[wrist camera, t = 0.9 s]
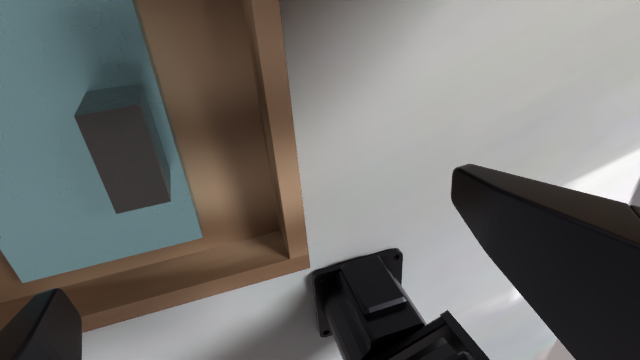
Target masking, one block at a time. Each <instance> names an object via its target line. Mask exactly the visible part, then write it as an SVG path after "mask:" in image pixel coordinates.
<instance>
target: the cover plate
mask: <svg viewBox="0 0 640 360" xmlns="http://www.w3.org/2000/svg"><path fill="white" fill-rule="evenodd" d="M200 238H203V236H202V227H201V220H200V216H199V213H198V209H197V206H196V203H195V199H194V196H193V192H192V189H191V185H190V182H189V179H188V175H187V172H186V168H185V165H184V162H183V158H182V155H181V151H180V148H179V144H178V141H177V138H176V134H175V131H174V127H173V124H172V121H171V117H170V114H169V110H168V107H167V104H166V100H165V97H164V93H163V90H162V86H161V83H160V80H159V76H158V73H157V69H156V66H155V63H154V59H153V56H152V52H151V49H150V45H149V42H148V39H147V35H146V32H145V28H144V25H143V22H142V18H141V15H140V11H139V8H138V4H137V1H136V0H0V250H1V251H2V253H3V254H4V256H5V257H6V259H7V260H8V262H9V263H10V265H11V266H12V268H13V269H14V271H15V272H16V274H17V275H18V277H19V279H20V280H21V282H22V283H26V282H30V281H33V280H37V279H41V278H45V277H49V276H53V275H57V274H61V273H65V272H69V271H73V270H77V269H81V268H85V267H89V266H93V265H97V264H101V263H105V262H109V261H113V260H117V259H121V258H125V257H129V256H133V255H136V254H140V253H144V252H148V251H152V250H156V249H160V248H164V247H168V246H172V245H176V244H180V243H184V242H188V241H192V240H196V239H200Z"/></svg>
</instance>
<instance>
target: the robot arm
mask: <svg viewBox="0 0 640 360" xmlns="http://www.w3.org/2000/svg"><path fill="white" fill-rule="evenodd" d="M451 199H452V202H453V204H454V206H455V207H456V209H457V210H458V212H459V213H460V215H461V216H462V218H463V219H464V221H465V222H466V224H467V225H468V227H469V228H470V230H471V231H472V233H473V234H474V236H475V237H476V239H477V240H478V242H479V243H480V245H481V246H482V248H483V249H484V250H485V252H486V253H487V254H488V255H489V257H490V258H491V259H492V260H493V262H494V263H495V264H496V265H497V266H498V268H499V269H500V270H501V271H502V272H503V274H504V275H505V276H506V277H507V278H508V280H509V281H510V282H511V283H512V284H513V285H514V287H515V288H516V289H517V290H518V291H519V293H520V294H521V295H522V296H523V297H524V299H525V300H526V301H527V302H528V303H529V305H530V306H531V307H532V308H533V309H534V311H535V312H536V313H537V314H538V315H539V316H540V318H541V319H542V320H543V321H544V322H545V324H546V325H547V326H548V327H549V328H550V330H551V331H552V332H553V333H554V334H555V336H556V337H557V338H558V339H559V340H560V341H561V343H562V344H563V345H564V346H565V347H566V349H567V350H568V351H569V352H570V353H571V355H572V356H573V357H574V358H575V359H576V360H640V207H638V206H635V205H630V206H629V205H628V204H626V203H622V202H619V201H615V200H611V199H607V198H603V197H599V196H595V195H591V194H587V193H583V192H579V191H575V190H571V189H567V188H564V187H560V186H556V185H552V184H548V183H544V182H540V181H536V180H532V179H528V178H524V177H520V176H517V175H513V174H509V173H505V172H501V171H497V170H493V169H489V168H485V167H481V166H477V165H473V164H466V165H463V166H460V167H457V168H455V169H454V170H453V174H452V187H451ZM395 255H396V256H395ZM402 261H403V254H402V253H401V251H400V250H399V249H397V248H394V249H391V250H387V251H384V252H380V253H377V254H373V255H370V256H366V257H363V258H359V259H356V260H352V261H349V262H345V263H342V264H339V265H335V266H332V267H328V268H325V269H321V270H318V271H316V272H315V273H314V274H313V275H312V281H313V289H314V298H315V307H316V315H317V324H318V331H319V334H320V336H321V337H328V336H331V335H333V336H334V339H335V341H336V344H337V346H338V349H339V351H340V353H341V356H342V358H343V360H490V359H489V358H488V357H487V356H486V355H485V353H484V352H483V351H482V350H481V349H480V347H479V346H478V345H477V344H476V343H475V342H474V340H473V339H472V338H471V337H470V336H469V335H468V333H467V332H466V331H465V330H464V329H463V328H462V326H461V325H460V324H459V323H458V322H457V321H456V319H455V318H454V317H453V316H452V315H451V314H450V312H449V311H448V310H447V311H445V312H444V313H442V314H440V317H439V318H437V319H435V320H434V321H432V322H430V323H429V324H426V322H425V321H424V319H423V318H422V316H421V315H420V313H419V312H418V310H417V309H416V307H415V306H414V304H413V303H412V301H411V300H410V298H409V297H408V295H407V294H406V292H405V291H404V289H403V288H402V286H401V281H402ZM320 277H321V278H320ZM0 360H82V320H81V316H80V314H79V312H78V310H77V309H76V308H75V306H74V305H73V303H72V302H71V300H70V299H69V298H68V296H67V295H66V293H65V292H64V291H63V290H62V289H61V288H53V289H50V290H47V291H43V292H40V293H38V294H36V295H35V296H34V297H33V298H32V299H31V300H30V301H29V302H28V303H27V304H26V305H25V306H24V307H23V308H22V309H21V310H20V311H19V312H18V313H17V314H16V315H15V316H14V317H13V318H12V319H11V320H10V321H9V322H8V323H7V324H6V325H5V326H4V327H3V328H2V329H1V330H0Z"/></svg>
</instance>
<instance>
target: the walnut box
mask: <svg viewBox="0 0 640 360" xmlns="http://www.w3.org/2000/svg"><path fill="white" fill-rule="evenodd" d="M136 1H137V4H138V8H139V11H140V15H141V18H142V22H143V25H144V28H145V32H146V35H147V39H148V42H149V45H150V49H151V52H152V56H153V59H154V63H155V66H156V69H157V73H158V76H159V80H160V83H161V86H162V90H163V93H164V97H165V100H166V104H167V107H168V110H169V114H170V117H171V121H172V124H173V127H174V131H175V134H176V138H177V141H178V144H179V148H180V151H181V155H182V158H183V162H184V165H185V168H186V172H187V175H188V179H189V182H190V185H191V189H192V192H193V196H194V199H195V203H196V206H197V209H198V213H199V216H200V220H201V227H202V236H203V238H200V239H196V240H192V241H188V242H184V243H180V244H176V245H172V246H168V247H164V248H160V249H156V250H152V251H148V252H144V253H140V254H136V255H133V256H129V257H125V258H121V259H117V260H113V261H109V262H105V263H101V264H97V265H93V266H89V267H85V268H81V269H77V270H73V271H69V272H65V273H61V274H57V275H53V276H49V277H45V278H41V279H37V280H33V281H30V282H26V283H22V282H21V280H20V279H19V277H18V275H17V274H16V272H15V271H14V269H13V268H12V266H11V265H10V263H9V262H8V260H7V259H6V257H5V256H4V254H3V253H2V251H1V250H0V330H1V329H2V328H3V327H4V326H5V325H6V324H7V323H8V322H9V321H10V320H11V319H12V318H13V317H14V316H15V315H16V314H17V313H18V312H19V311H20V310H21V309H22V308H23V307H24V306H25V305H26V304H27V303H28V302H29V301H30V300H31V299H32V298H33V297H34V296H35V295H36V294H38V293H40V292H43V291H47V290H50V289H53V288H61V289H62V290H63V291H64V292H65V293H66V295H67V296H68V298H69V299H70V300H71V302H72V303H73V305H74V306H75V308H76V309H77V310H78V312H79V314H80V316H81V320H82V333H83V332H87V331H90V330H94V329H97V328H101V327H104V326H108V325H111V324H115V323H118V322H122V321H125V320H129V319H132V318H136V317H139V316H143V315H146V314H150V313H153V312H157V311H160V310H164V309H167V308H171V307H174V306H178V305H181V304H185V303H188V302H192V301H195V300H199V299H202V298H206V297H209V296H213V295H216V294H220V293H224V292H227V291H231V290H234V289H238V288H241V287H245V286H248V285H252V284H255V283H259V282H262V281H266V280H269V279H273V278H276V277H280V276H283V275H287V274H290V273H294V272H297V271H301V270H304V269H308V268H310V261H309V253H308V244H307V236H306V227H305V219H304V210H303V201H302V193H301V184H300V176H299V167H298V159H297V150H296V142H295V133H294V125H293V116H292V108H291V99H290V91H289V82H288V74H287V65H286V57H285V48H284V39H283V31H282V22H281V14H280V5H279V0H136Z"/></svg>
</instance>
